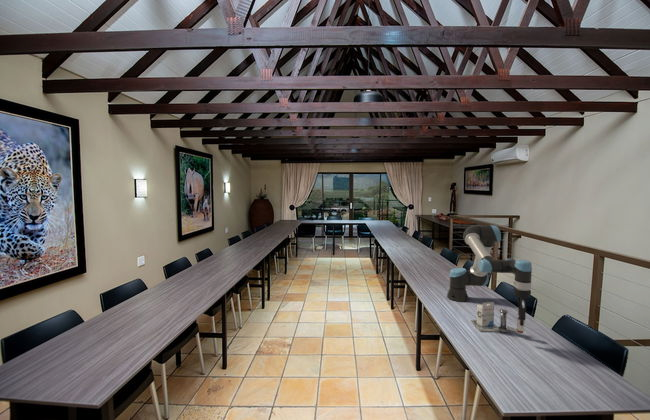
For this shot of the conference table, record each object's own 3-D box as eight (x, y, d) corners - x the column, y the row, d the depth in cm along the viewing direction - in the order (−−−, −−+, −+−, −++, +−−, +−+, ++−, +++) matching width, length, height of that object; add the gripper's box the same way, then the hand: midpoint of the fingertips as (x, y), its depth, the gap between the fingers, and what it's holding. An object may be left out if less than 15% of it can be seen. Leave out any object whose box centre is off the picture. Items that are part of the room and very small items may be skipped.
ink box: (487, 321, 186) (488, 298, 185) (493, 325, 181) (494, 301, 180) (476, 323, 184) (476, 300, 183) (481, 326, 180) (482, 303, 179)
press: (470, 322, 189) (471, 303, 188) (497, 322, 188) (497, 303, 187) (481, 332, 175) (481, 312, 175) (509, 333, 174) (510, 312, 174)
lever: (508, 327, 176) (508, 314, 175) (523, 332, 169) (524, 318, 169) (506, 329, 174) (506, 315, 174) (522, 334, 168) (522, 320, 167)
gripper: (513, 284, 169) (512, 324, 170) (515, 291, 157) (514, 334, 159) (529, 286, 165) (527, 326, 167) (532, 293, 154) (531, 337, 155)
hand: (521, 330), depth 163 cm, fingers closed
